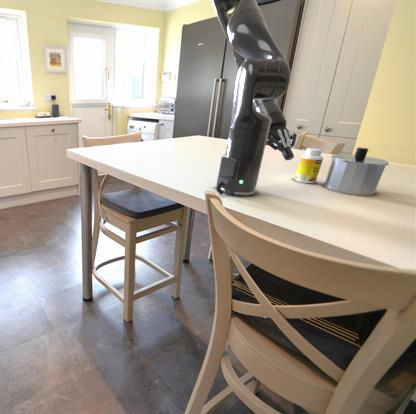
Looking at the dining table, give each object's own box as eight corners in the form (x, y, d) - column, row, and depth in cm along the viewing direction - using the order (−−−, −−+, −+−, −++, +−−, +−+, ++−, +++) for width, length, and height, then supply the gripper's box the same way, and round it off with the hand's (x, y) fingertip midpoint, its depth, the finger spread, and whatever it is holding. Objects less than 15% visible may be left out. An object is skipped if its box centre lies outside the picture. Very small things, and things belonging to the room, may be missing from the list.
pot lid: (365, 169, 73) (371, 153, 72) (320, 158, 84) (324, 144, 83) (399, 166, 76) (405, 151, 75) (351, 157, 87) (355, 143, 86)
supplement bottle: (311, 185, 86) (321, 151, 82) (291, 180, 90) (300, 148, 87) (318, 182, 89) (328, 149, 86) (298, 177, 93) (307, 146, 90)
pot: (354, 197, 77) (365, 166, 73) (315, 184, 87) (323, 157, 84) (384, 194, 80) (396, 164, 76) (343, 182, 90) (352, 155, 86)
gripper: (277, 124, 105) (296, 164, 99) (247, 124, 102) (265, 165, 96) (293, 110, 99) (315, 151, 92) (261, 109, 95) (282, 153, 89)
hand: (289, 158), depth 94 cm, fingers closed
